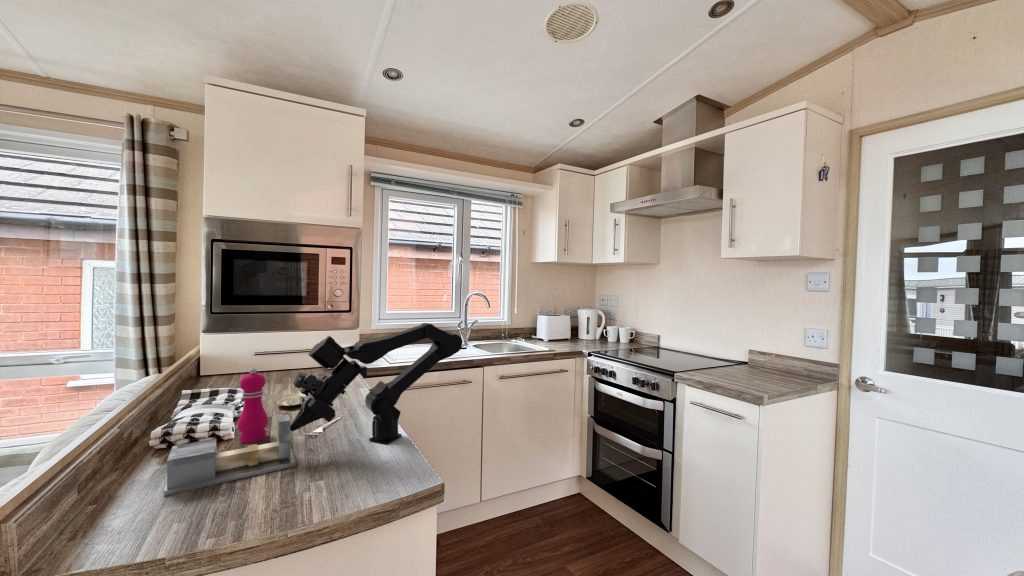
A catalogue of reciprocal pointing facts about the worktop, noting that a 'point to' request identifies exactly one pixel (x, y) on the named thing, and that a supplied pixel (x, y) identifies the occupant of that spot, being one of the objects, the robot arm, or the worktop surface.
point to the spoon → (297, 395)
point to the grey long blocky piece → (209, 467)
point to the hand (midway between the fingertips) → (290, 430)
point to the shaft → (258, 449)
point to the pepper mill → (252, 408)
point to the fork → (322, 427)
